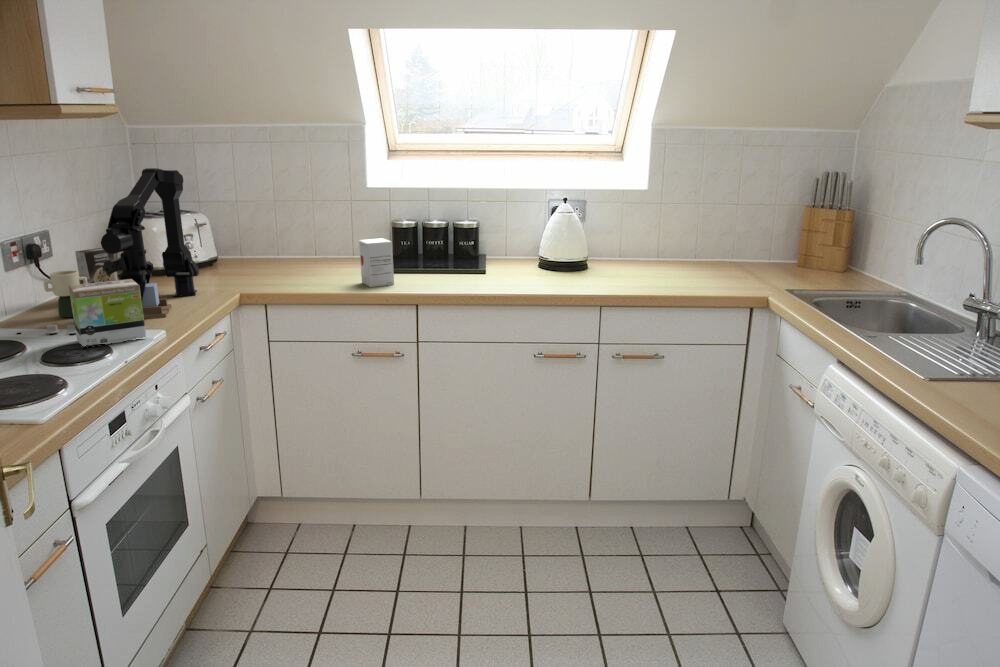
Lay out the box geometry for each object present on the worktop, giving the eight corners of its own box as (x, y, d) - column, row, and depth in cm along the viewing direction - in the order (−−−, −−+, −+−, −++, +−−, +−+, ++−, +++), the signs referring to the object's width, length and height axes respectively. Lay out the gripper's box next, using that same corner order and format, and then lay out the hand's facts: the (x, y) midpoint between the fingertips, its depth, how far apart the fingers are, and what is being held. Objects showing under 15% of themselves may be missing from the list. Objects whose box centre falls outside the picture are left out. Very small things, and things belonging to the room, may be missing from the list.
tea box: (82, 349, 184) (72, 291, 180) (76, 340, 192) (66, 284, 188) (147, 339, 192) (139, 283, 188) (139, 331, 200) (131, 277, 196)
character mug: (92, 311, 222) (85, 268, 218) (92, 316, 216) (85, 272, 212) (50, 316, 217) (42, 272, 213) (49, 321, 211) (41, 276, 207)
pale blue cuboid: (126, 305, 218) (123, 285, 217) (159, 302, 221) (156, 283, 219) (123, 309, 214) (119, 288, 212) (156, 306, 216) (153, 286, 214)
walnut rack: (121, 311, 222) (119, 301, 221) (171, 307, 225) (170, 297, 224) (112, 321, 211) (110, 310, 210) (165, 317, 214) (164, 306, 213)
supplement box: (361, 282, 257) (358, 239, 252) (385, 280, 261) (383, 237, 256) (369, 287, 249) (366, 243, 245) (394, 284, 253) (392, 240, 249)
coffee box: (94, 303, 232) (86, 252, 227) (82, 301, 235) (73, 250, 230) (121, 297, 239) (113, 248, 235) (109, 295, 242) (101, 246, 238)
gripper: (109, 244, 219) (117, 296, 223) (94, 254, 202) (103, 310, 206) (150, 242, 222) (157, 293, 226) (139, 252, 205) (147, 307, 209)
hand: (141, 300), depth 217 cm, fingers closed on pale blue cuboid, 5 cm apart
